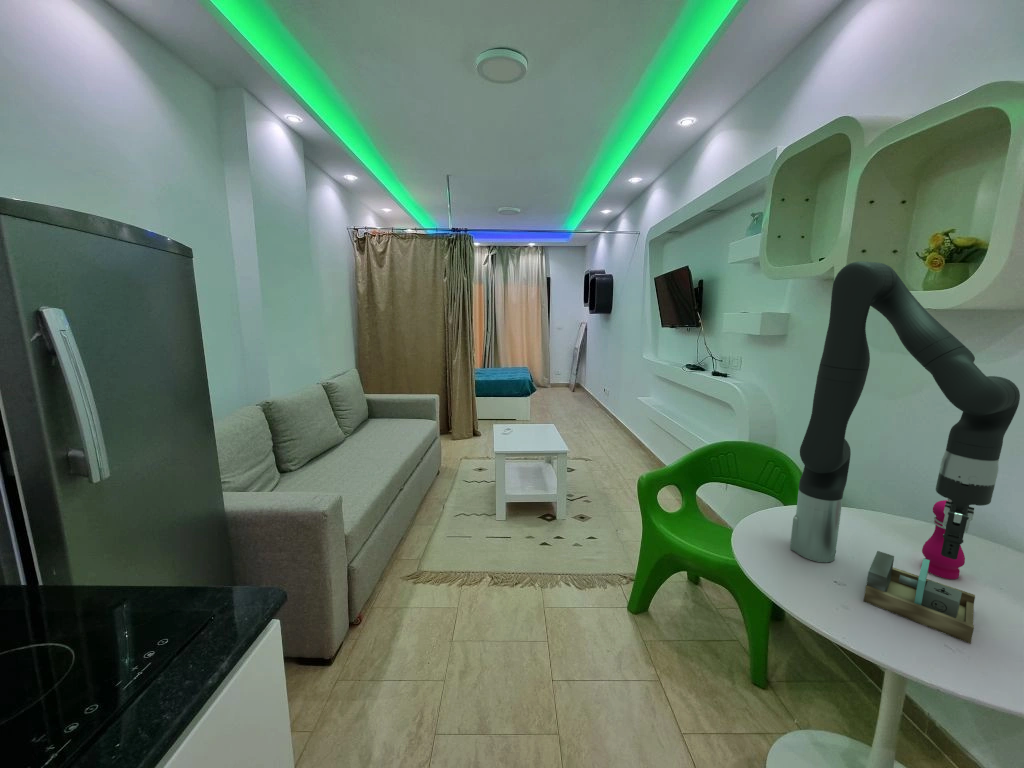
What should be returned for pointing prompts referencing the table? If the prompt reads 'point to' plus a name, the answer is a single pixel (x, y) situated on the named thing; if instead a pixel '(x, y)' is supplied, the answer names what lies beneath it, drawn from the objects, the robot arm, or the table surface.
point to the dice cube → (941, 598)
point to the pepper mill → (934, 547)
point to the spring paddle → (920, 583)
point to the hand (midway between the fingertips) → (950, 548)
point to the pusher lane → (901, 599)
